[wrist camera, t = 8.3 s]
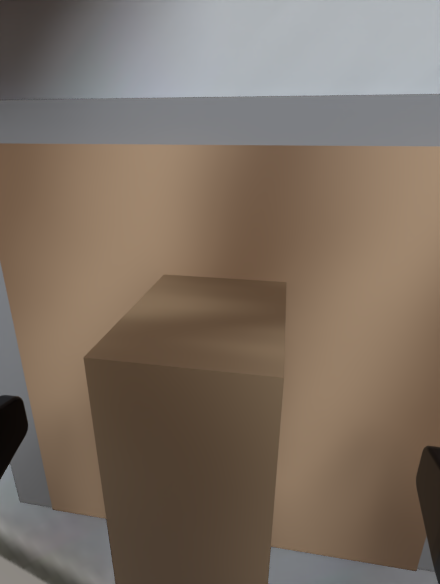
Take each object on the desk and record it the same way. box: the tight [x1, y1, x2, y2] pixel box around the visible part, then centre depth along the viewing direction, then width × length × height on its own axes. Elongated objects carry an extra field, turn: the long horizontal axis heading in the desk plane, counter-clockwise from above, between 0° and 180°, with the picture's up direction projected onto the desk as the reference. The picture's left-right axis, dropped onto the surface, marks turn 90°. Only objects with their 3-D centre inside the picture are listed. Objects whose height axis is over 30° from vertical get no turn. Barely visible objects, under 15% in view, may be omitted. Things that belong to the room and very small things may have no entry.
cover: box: [0, 143, 440, 584], centre depth 9 cm, size 12×12×5 cm
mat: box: [0, 94, 440, 572], centre depth 11 cm, size 16×14×1 cm
